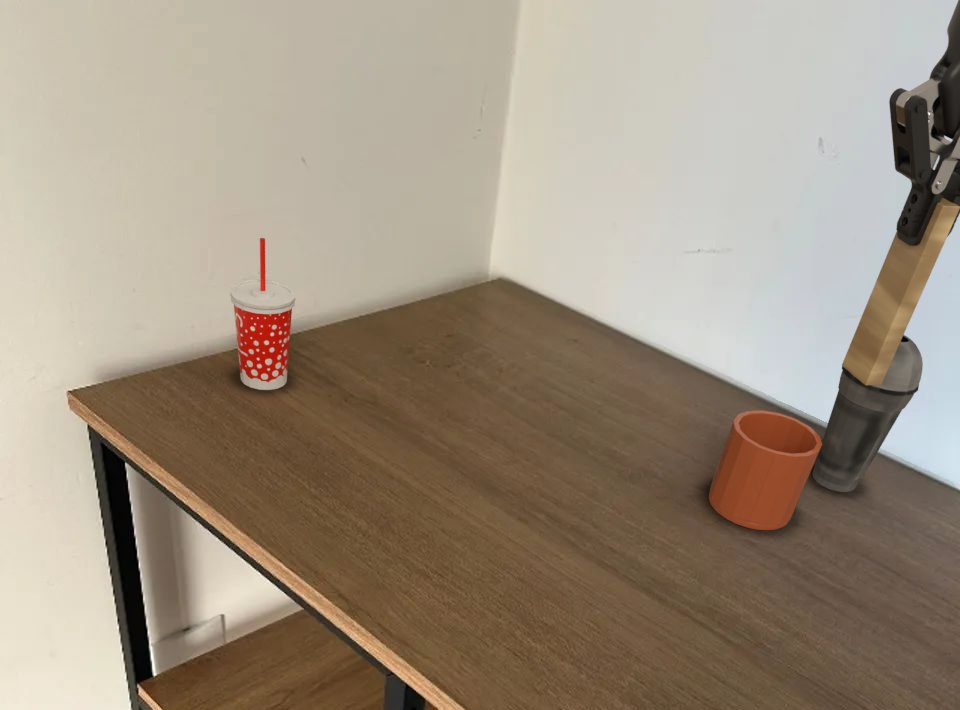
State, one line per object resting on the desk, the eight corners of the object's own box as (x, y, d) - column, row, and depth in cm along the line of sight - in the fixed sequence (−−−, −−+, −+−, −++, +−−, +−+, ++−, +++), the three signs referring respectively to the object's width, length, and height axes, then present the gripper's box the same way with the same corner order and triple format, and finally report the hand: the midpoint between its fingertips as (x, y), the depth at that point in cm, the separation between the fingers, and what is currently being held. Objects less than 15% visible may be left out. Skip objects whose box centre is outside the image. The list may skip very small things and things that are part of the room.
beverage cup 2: (799, 488, 96) (881, 293, 83) (798, 454, 102) (875, 265, 88) (871, 507, 95) (966, 312, 82) (867, 471, 101) (955, 283, 88)
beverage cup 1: (240, 361, 100) (236, 222, 90) (299, 370, 100) (301, 232, 91) (226, 388, 95) (220, 245, 86) (288, 397, 95) (289, 256, 86)
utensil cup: (763, 481, 96) (791, 409, 91) (806, 527, 91) (838, 454, 86) (694, 485, 94) (718, 411, 89) (733, 533, 88) (762, 457, 83)
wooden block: (856, 365, 81) (930, 190, 71) (881, 385, 78) (961, 206, 69) (841, 365, 80) (913, 189, 71) (865, 385, 78) (943, 205, 69)
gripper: (992, -38, 56) (872, 260, 67) (1162, -13, 60) (1022, 264, 72) (914, -59, 61) (815, 221, 73) (1076, -35, 65) (958, 226, 77)
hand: (918, 241), depth 72 cm, fingers closed on wooden block, 1 cm apart
